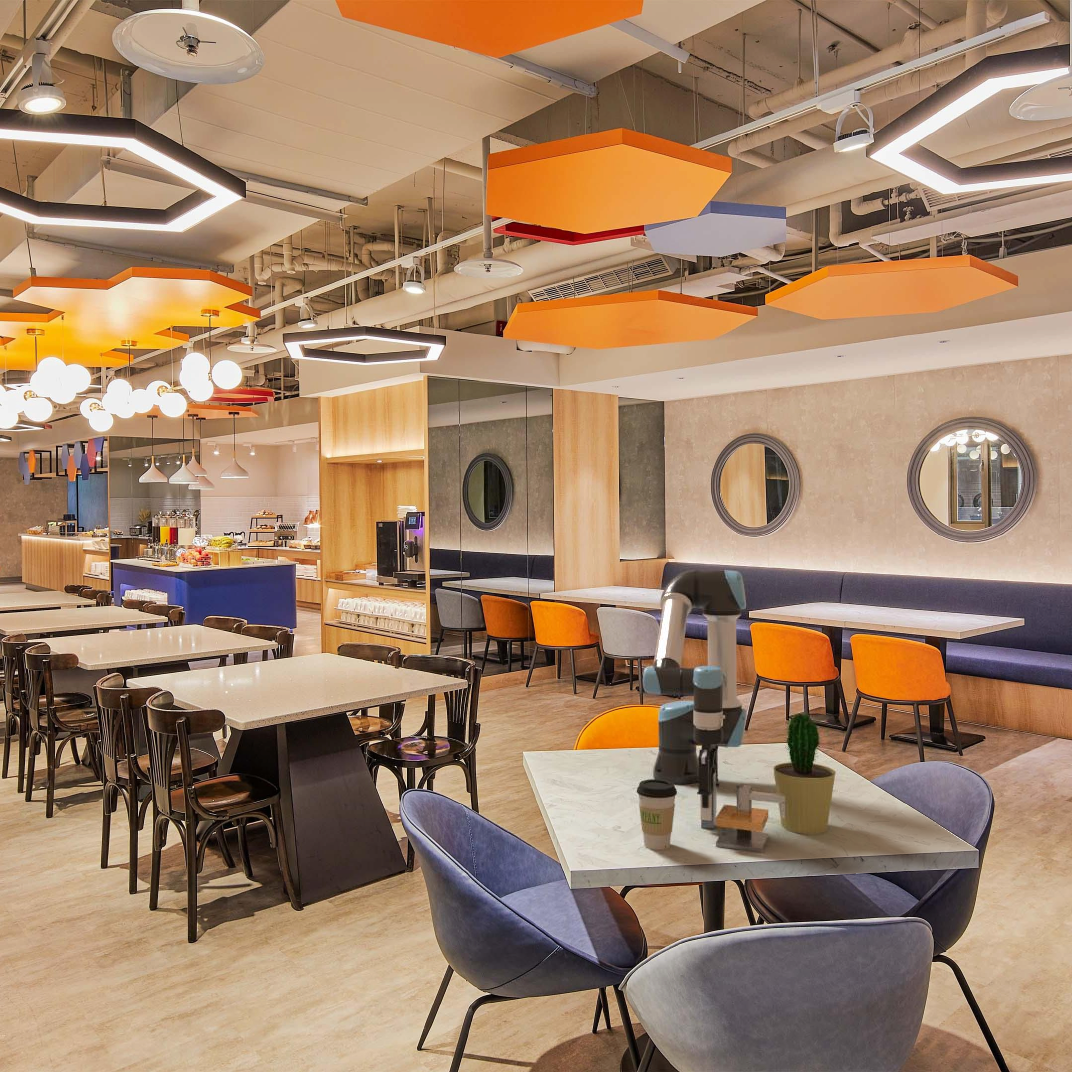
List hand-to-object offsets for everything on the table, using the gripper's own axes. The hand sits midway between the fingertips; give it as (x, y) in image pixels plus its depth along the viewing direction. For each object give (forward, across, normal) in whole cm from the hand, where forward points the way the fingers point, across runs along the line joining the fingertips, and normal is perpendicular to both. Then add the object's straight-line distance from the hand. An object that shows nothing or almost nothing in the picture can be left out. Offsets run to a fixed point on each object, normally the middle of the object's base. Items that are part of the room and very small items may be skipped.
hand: (708, 815), depth 224 cm
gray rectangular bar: (+3, 0, 0) cm, 3 cm away
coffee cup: (+3, -18, +9) cm, 20 cm away
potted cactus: (+3, +9, -23) cm, 25 cm away
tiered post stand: (+3, -8, -12) cm, 15 cm away
